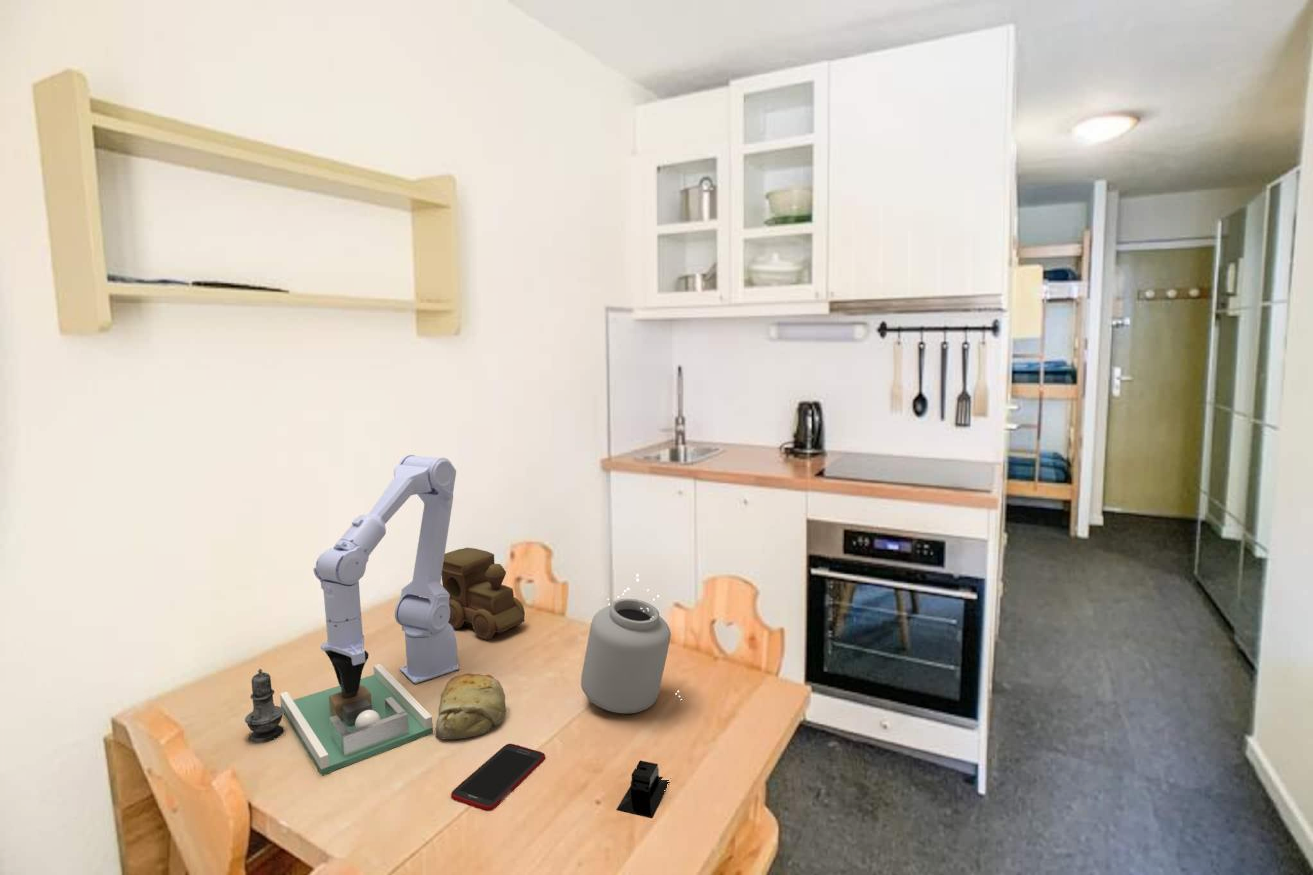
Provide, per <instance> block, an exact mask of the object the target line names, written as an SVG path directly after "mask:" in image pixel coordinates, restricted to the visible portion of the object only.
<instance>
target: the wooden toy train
mask: <svg viewBox="0 0 1313 875" xmlns="http://www.w3.org/2000/svg"><path fill="white" fill-rule="evenodd" d="M506 574H507V571H506V570H505V568H504V567H503V566H502V564H500V563H495V553H492V552H489V551H488V550H483V549H479V548H474V547H464V548H460V549H459V548H458V549H455V550H453V551H449V552H445V555H444V562H443V569H442V575H441V582H442V583H441V585H442V586H443V587H444V588H445V589H446V591H447V592H448V593H449V595H450V598H449V606H450V618H449V621H448V623H449V624H451V626H452V627H453V629H454V630H457V629H461V628H462V626H464V624H465V622H466V623H470V624H471V626H472V628H473V631H474V632H475V634H476V635H477V637H478V638H480V639H482V640H488V641H489V640H490V639H492V637H494V636H495V634H496V632H497V633H502V632H504V631H508V629H511V628H513V627H518V626H520V625H522V623H524V622H525V608H524V606H523V603H522V602H521V601H520V600H519V599H518V598H516V597H514V588H513V587H509V586H507V585H504V584H503V582H504V579H505V577H506Z"/></svg>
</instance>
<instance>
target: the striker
mask: <svg viewBox="0 0 1313 875" xmlns="http://www.w3.org/2000/svg"><path fill="white" fill-rule="evenodd" d="M340 678H341V675H340ZM341 691H342V692H340V693H336V694H333V695H330V696H329V704H330V712H331V713H332V715H333V716H336V715H337V716H338V717H339V719H340V720H341V719H343V720H344V721H345V722H346V724H347V725H348V726H349V725H352V724H355V721H356V718H357V717H358V715H359V714H360V713H362V712H363V711H365V710H371V709H372V703H371V693H370V692H369V691H368V690H367V688H366V687H365V686H364V685H362V686H359V690H358V691H355V692H352V693H349V694H346V692H345V690H344V688H343V684H342V679H341Z"/></svg>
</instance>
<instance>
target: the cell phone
mask: <svg viewBox="0 0 1313 875" xmlns="http://www.w3.org/2000/svg"><path fill="white" fill-rule="evenodd" d="M545 759H546V754H545V753H544V752H542V751H539V750H536V749H532V748H530V747H529V748H528V747H525V746H521V745H519V744H514V743H507V744H505V745H504V746H503V747H501V748H500V749H499V750H498V751H497V752H495V753H494V754H492V756H491V757H490V758H488V759H487V760H486V761H485V762H484V763H483V764H481V766H479V767H478V768H477V769H476V770H474V772H472V773H471V774H470V775H469V776H468V777H466V778H465V779H464V780H463V781H462V782H461V783H460V784H459V785H458V786H456V787H455V788H453V790H452V791H451V793H450V798H451V800H453V801H455V802H458V803H461V804H465V805H468V806H470V807H473V808H476V809H479V810H482V811H487V812H491V811H493V810H494V809H495V808H497V806H499V805H500V804H501V803H502V802H503V800H504V799H505V798H506V797H507V796H508V795H509V794H510V793H512V792H513V791H514V790H515V789H516V788H518V786H519V785H520V784H521V783H523V781H524V780H525V779H526V778H527V777H528V776H530V774H532V772H534V770H535V769H536V768H538V767H539V766H540V765H541V764H542V763H543V761H544V760H545Z"/></svg>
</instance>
